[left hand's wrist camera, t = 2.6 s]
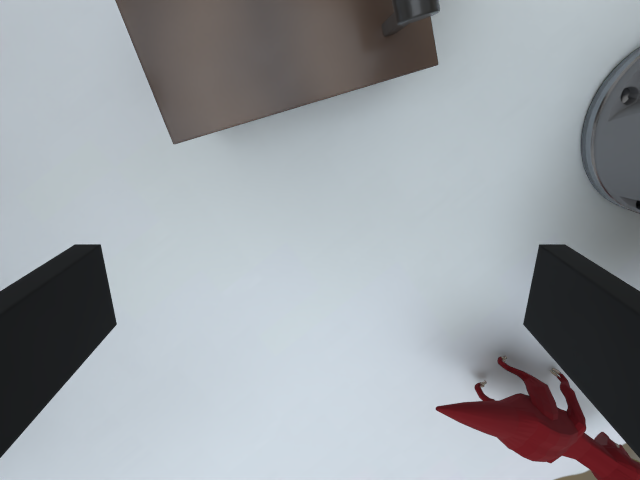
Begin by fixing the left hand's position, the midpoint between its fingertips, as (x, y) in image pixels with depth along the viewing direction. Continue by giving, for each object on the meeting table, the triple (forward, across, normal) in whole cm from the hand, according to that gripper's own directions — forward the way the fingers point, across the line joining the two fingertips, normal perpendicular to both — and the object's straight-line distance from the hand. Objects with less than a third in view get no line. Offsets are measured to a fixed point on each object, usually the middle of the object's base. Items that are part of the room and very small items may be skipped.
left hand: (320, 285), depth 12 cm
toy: (+25, +20, -24) cm, 40 cm away
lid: (+16, -3, +10) cm, 19 cm away
